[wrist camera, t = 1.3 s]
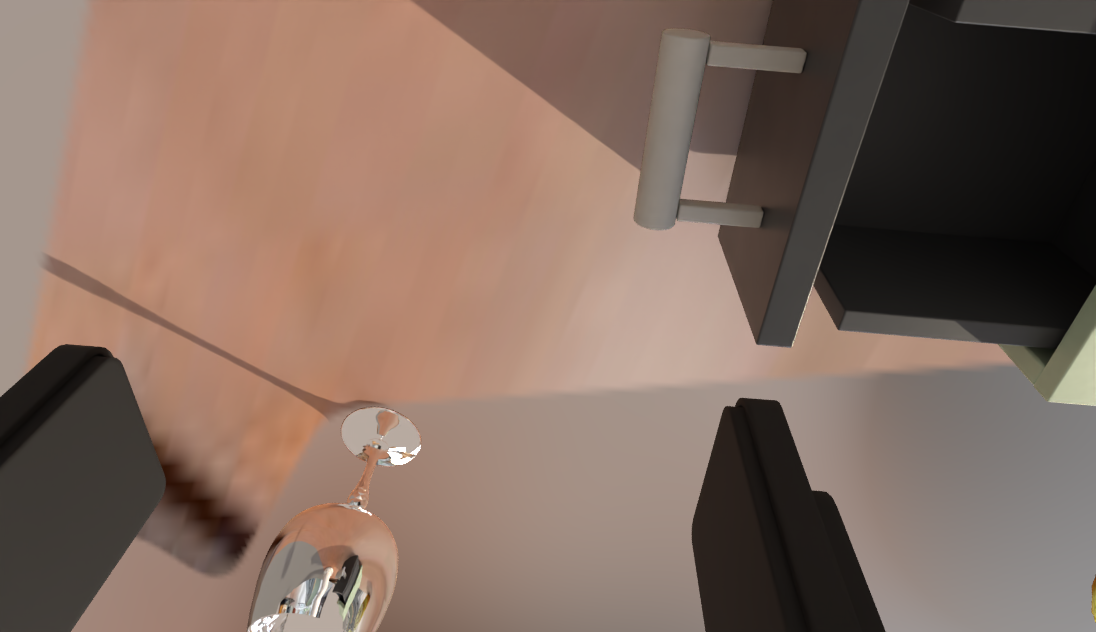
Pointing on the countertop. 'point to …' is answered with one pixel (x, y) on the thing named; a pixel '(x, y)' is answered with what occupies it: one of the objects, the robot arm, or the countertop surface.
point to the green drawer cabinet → (1064, 361)
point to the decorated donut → (1094, 599)
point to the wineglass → (337, 545)
